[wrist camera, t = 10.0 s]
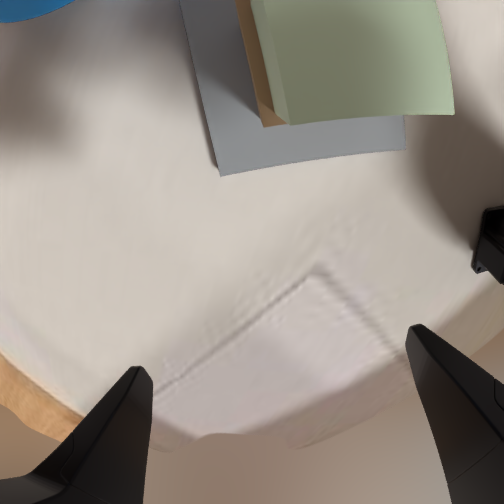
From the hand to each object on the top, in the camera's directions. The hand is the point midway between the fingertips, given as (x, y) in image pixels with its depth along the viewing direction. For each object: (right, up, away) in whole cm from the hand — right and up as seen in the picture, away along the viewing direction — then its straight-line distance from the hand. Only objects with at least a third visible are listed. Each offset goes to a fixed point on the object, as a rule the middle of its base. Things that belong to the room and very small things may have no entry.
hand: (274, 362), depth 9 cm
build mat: (+2, +15, +6) cm, 16 cm away
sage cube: (+2, +12, +1) cm, 12 cm away
